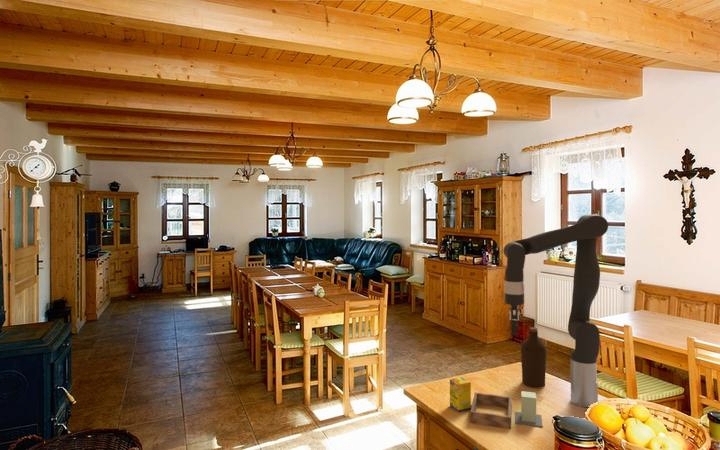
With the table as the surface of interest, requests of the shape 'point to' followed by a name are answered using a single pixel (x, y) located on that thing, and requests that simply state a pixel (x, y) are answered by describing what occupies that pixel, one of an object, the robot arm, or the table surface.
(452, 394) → the supplement box
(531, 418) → the block
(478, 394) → the frame
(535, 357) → the olive oil
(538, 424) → the mat
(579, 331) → the robot arm
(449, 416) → the table surface
